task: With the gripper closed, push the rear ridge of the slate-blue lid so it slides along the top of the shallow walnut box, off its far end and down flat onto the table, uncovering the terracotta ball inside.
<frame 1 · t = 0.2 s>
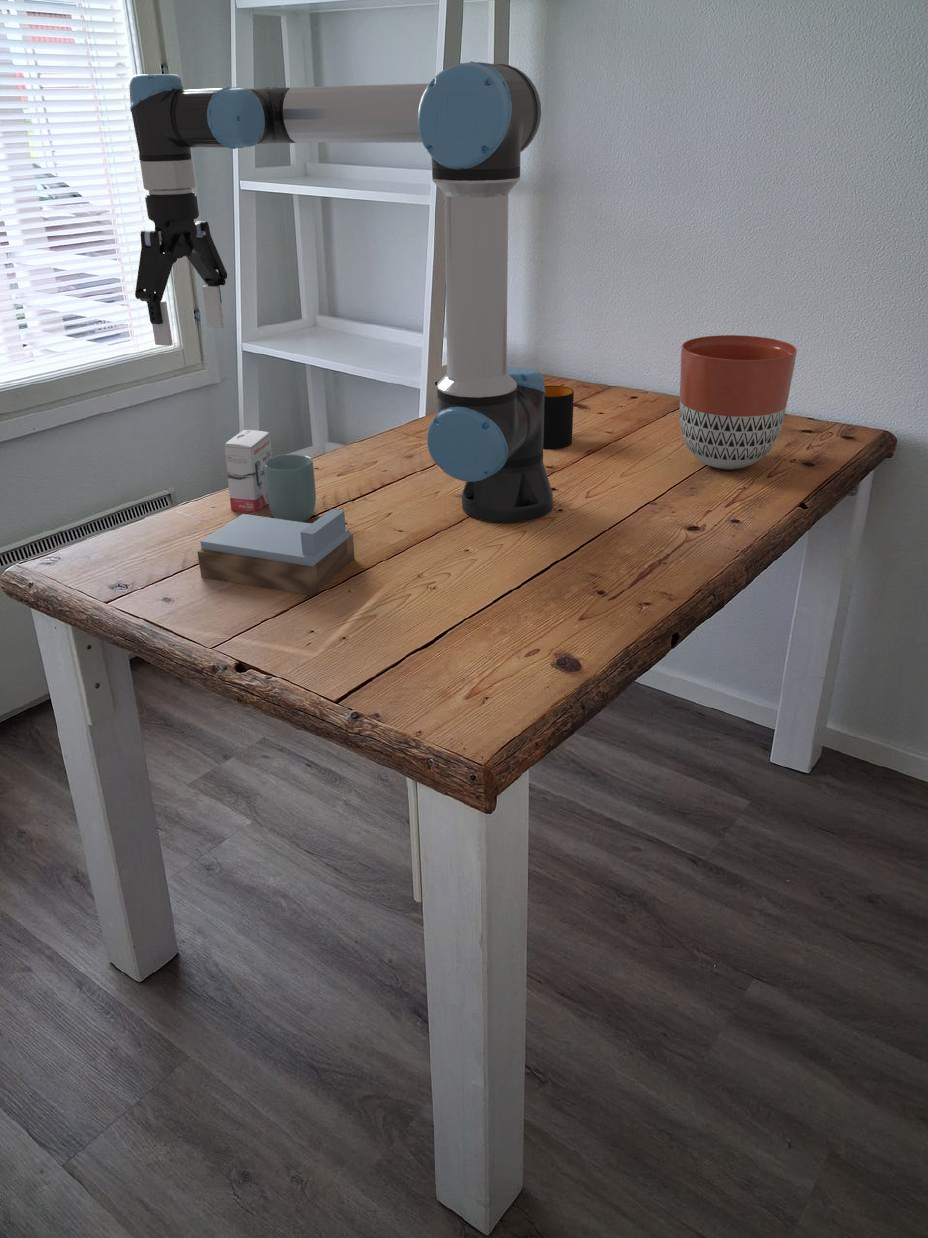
hand: (190, 335, 160), 28 cm above the table, fingers open, 13 cm apart
ink box: (254, 505, 171), on the table
lid: (276, 542, 144), point 4 cm above the table, touching box
box: (279, 570, 146), on the table
ball: (261, 564, 147), resting on box
planter: (725, 465, 184), on the table
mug: (554, 441, 199), on the table
cup: (294, 521, 164), on the table
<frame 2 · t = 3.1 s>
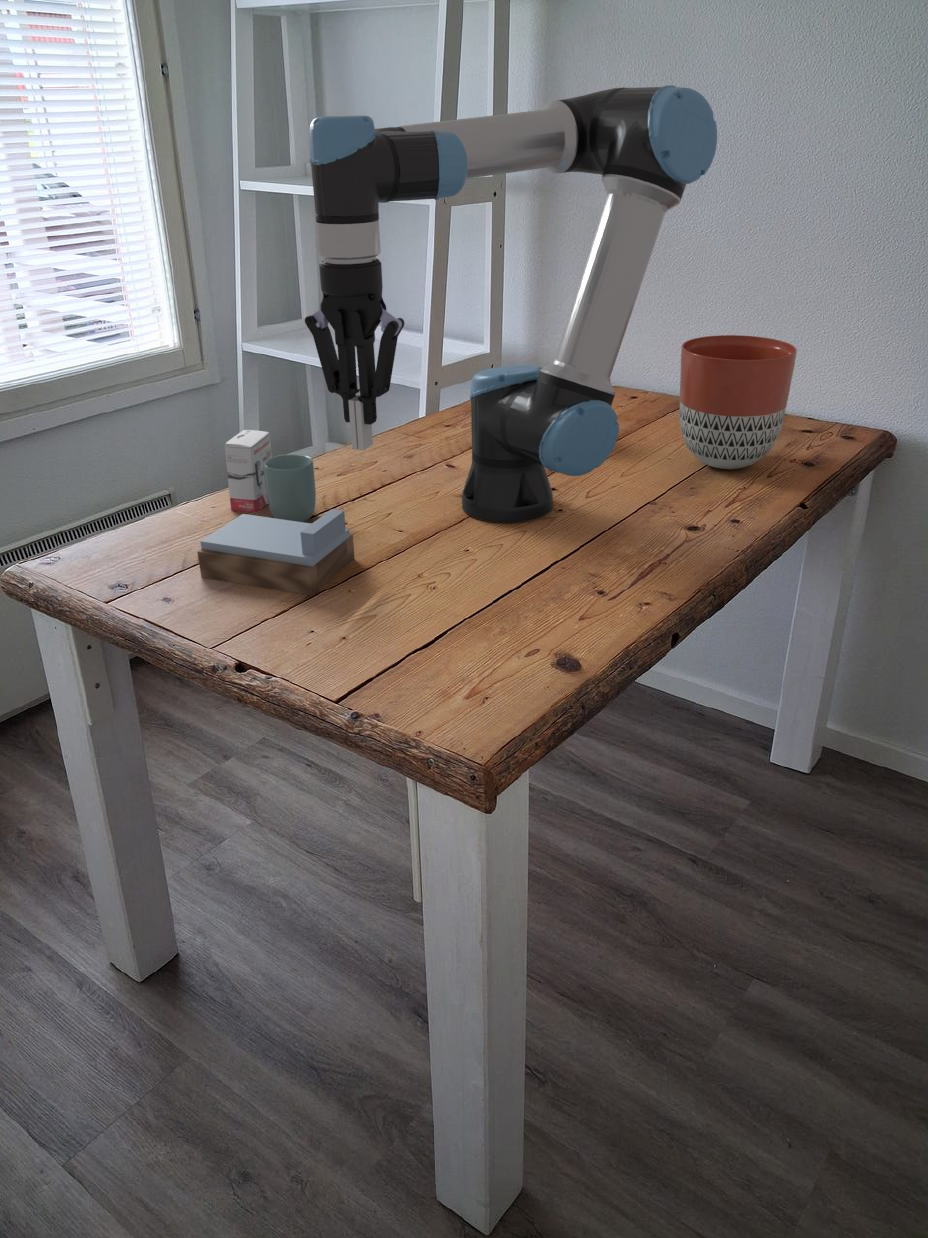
hand: (362, 446, 132), 20 cm above the table, fingers closed
nothing on the table moved.
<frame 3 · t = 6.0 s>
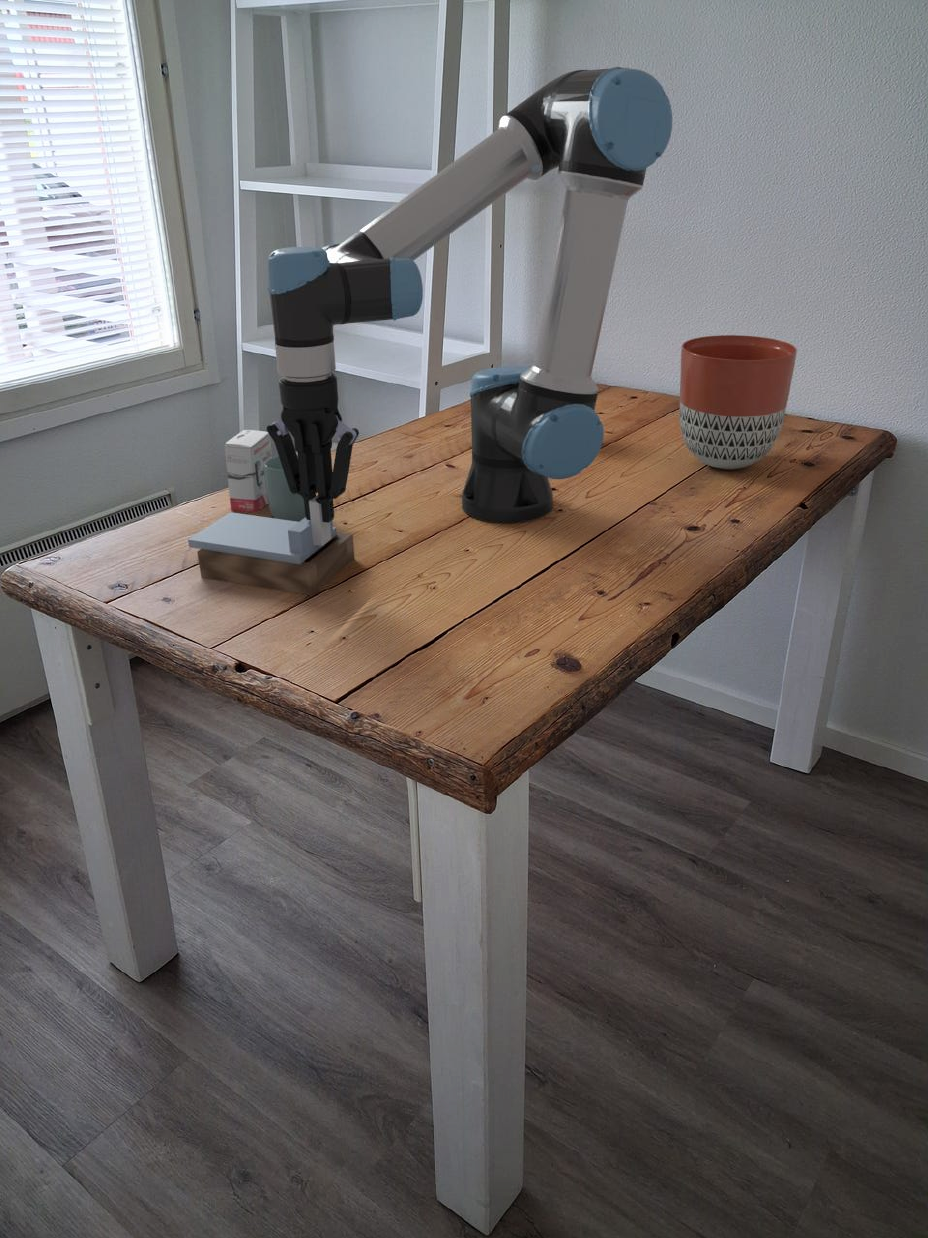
hand: (322, 541, 141), 6 cm above the table, fingers closed
lid: (263, 540, 145), point 5 cm above the table, touching gripper
everything else where it was.
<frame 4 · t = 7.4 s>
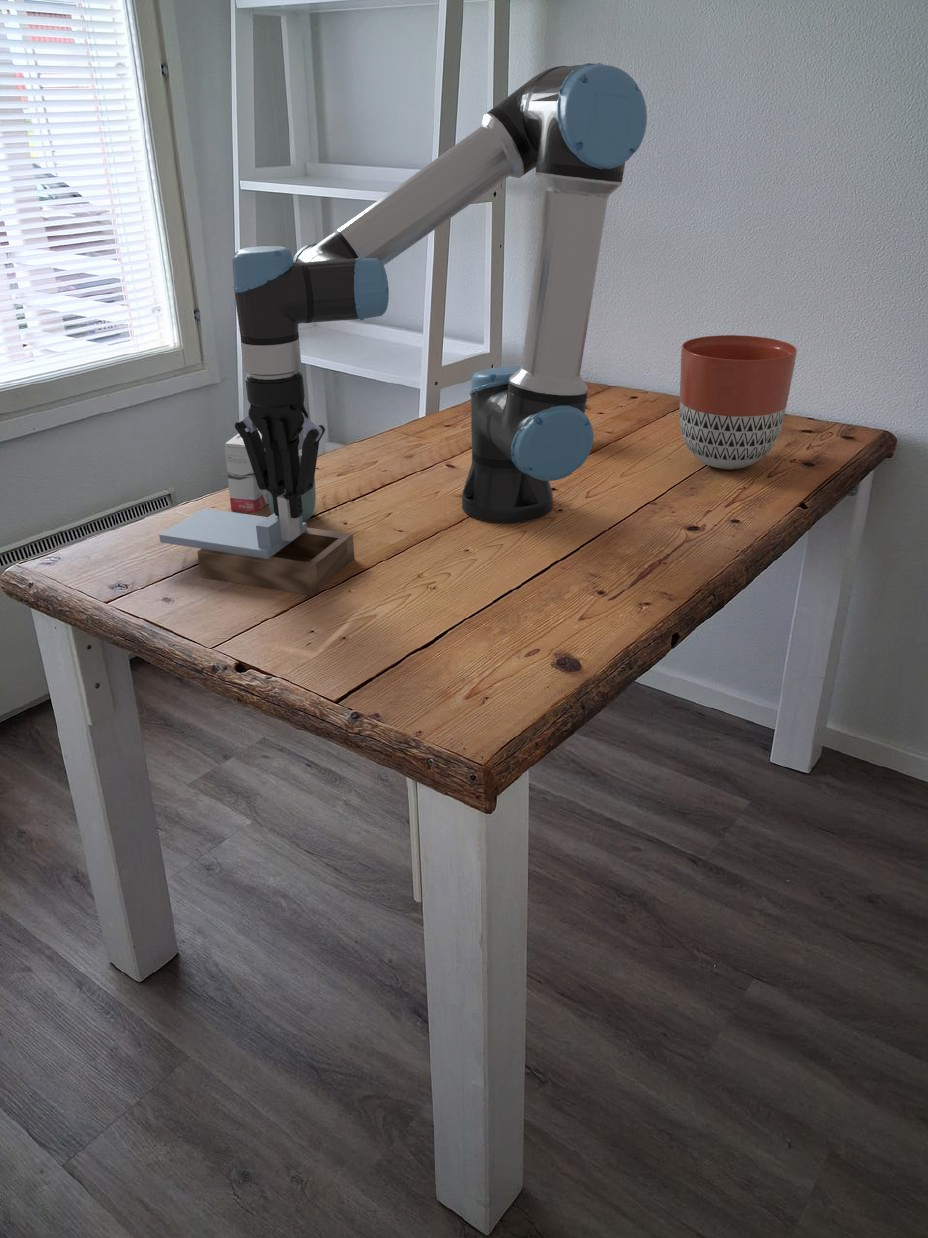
hand: (291, 537, 143), 6 cm above the table, fingers closed
lid: (234, 536, 147), point 5 cm above the table, touching gripper
everything else where it was.
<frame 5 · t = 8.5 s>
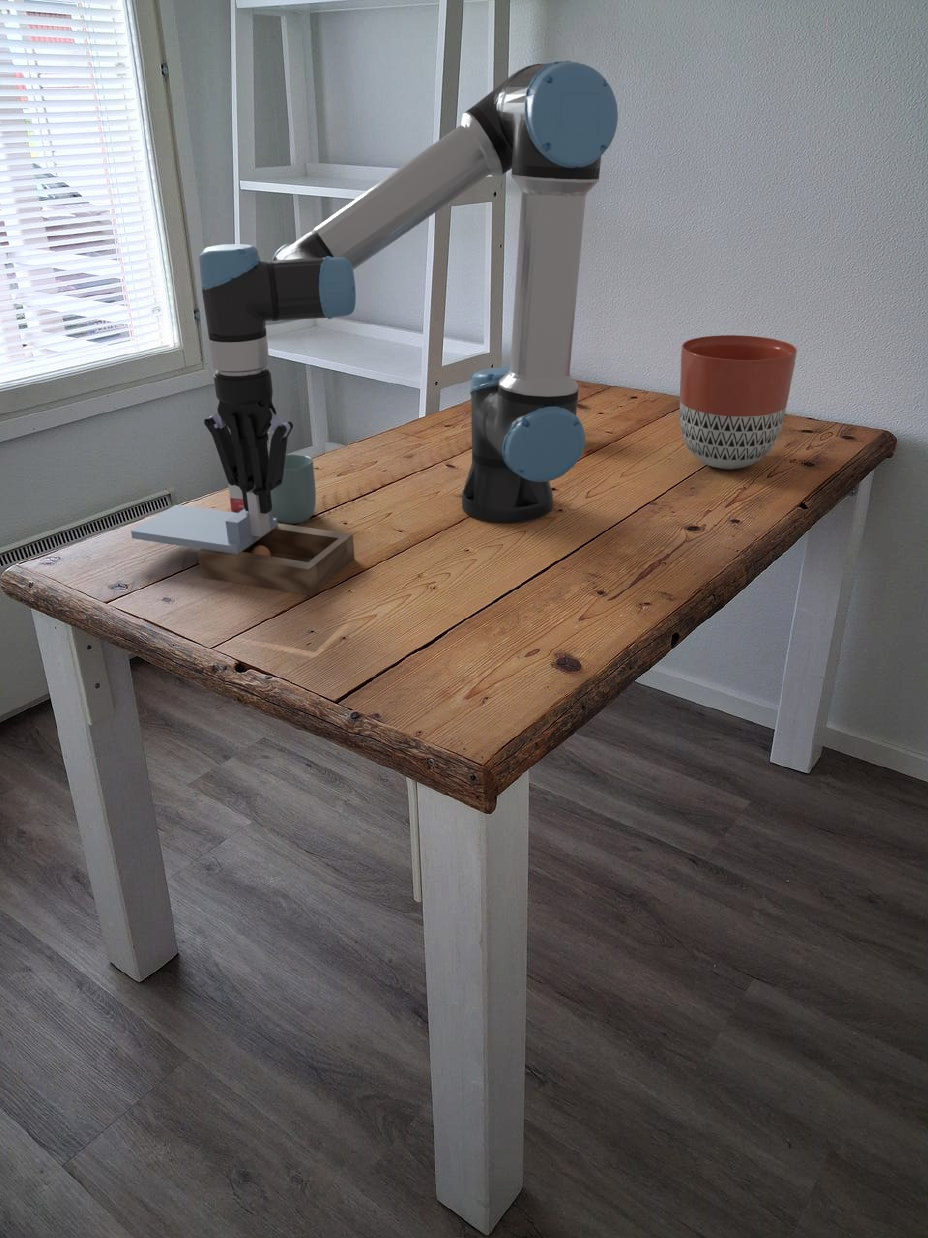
hand: (261, 532, 144), 6 cm above the table, fingers closed
lid: (205, 532, 148), point 4 cm above the table, touching box
everything else where it was.
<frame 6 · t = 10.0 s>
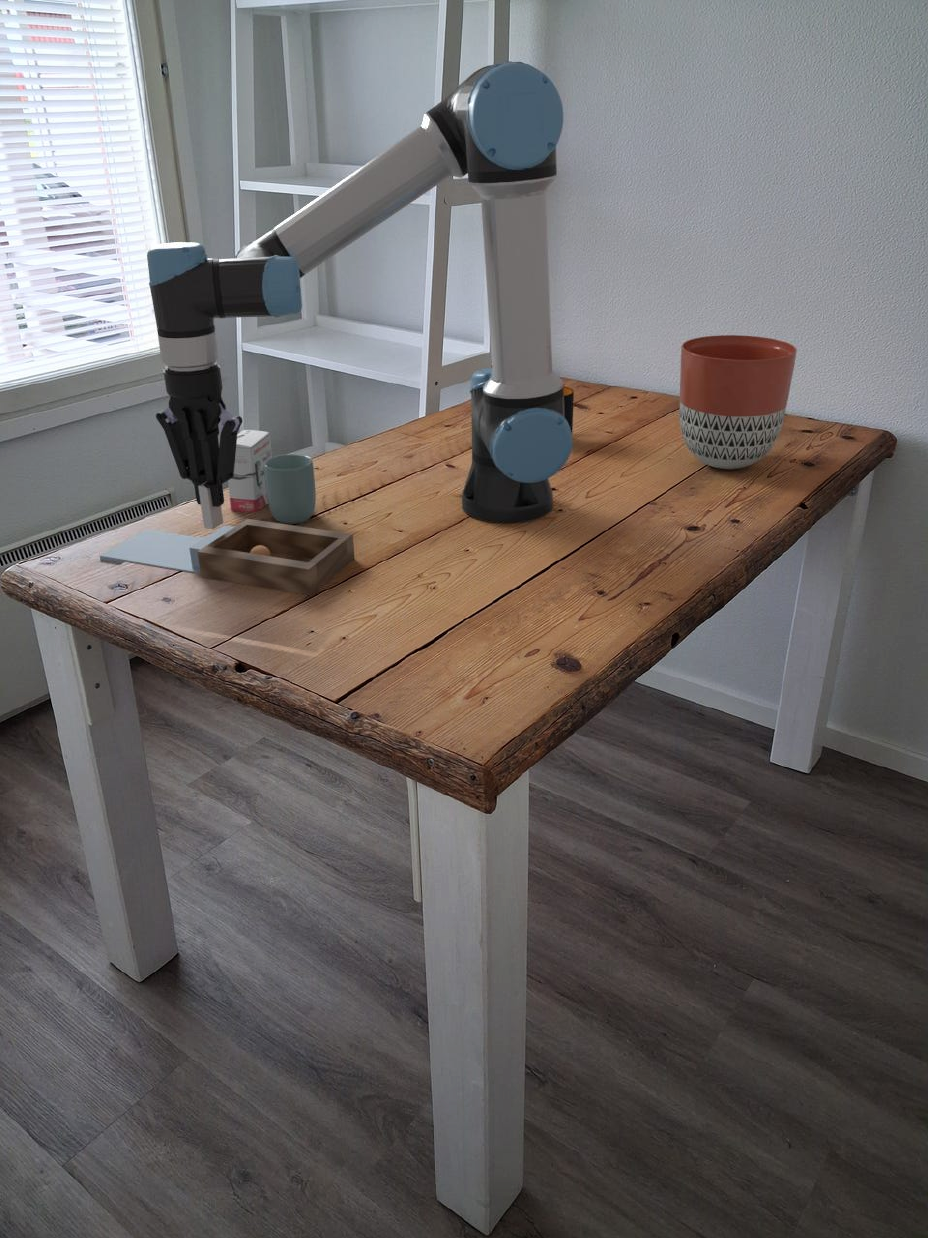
hand: (213, 525, 147), 6 cm above the table, fingers closed
lid: (172, 556, 153), on the table
everything else where it was.
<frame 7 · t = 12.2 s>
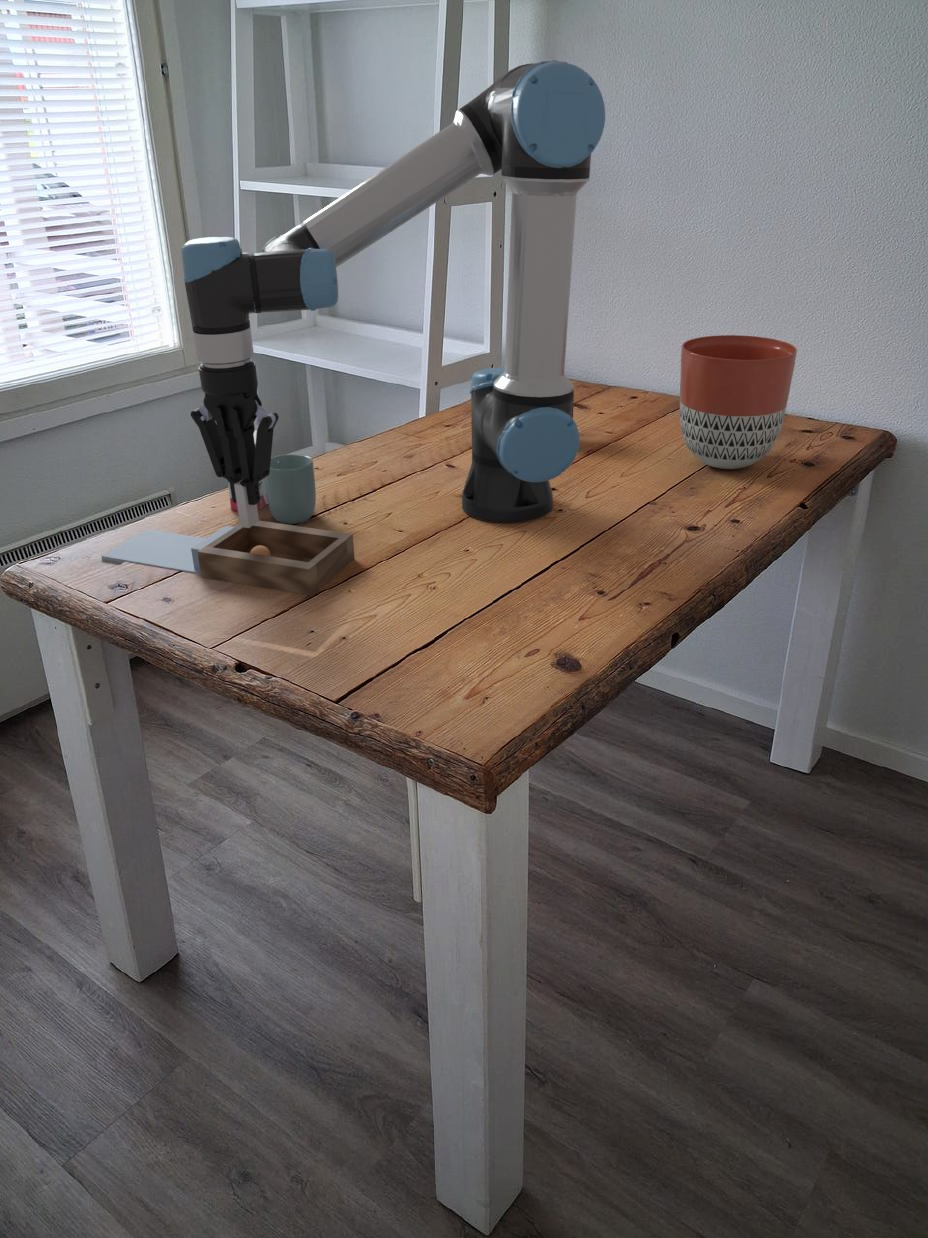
hand: (249, 523, 145), 7 cm above the table, fingers closed
nothing on the table moved.
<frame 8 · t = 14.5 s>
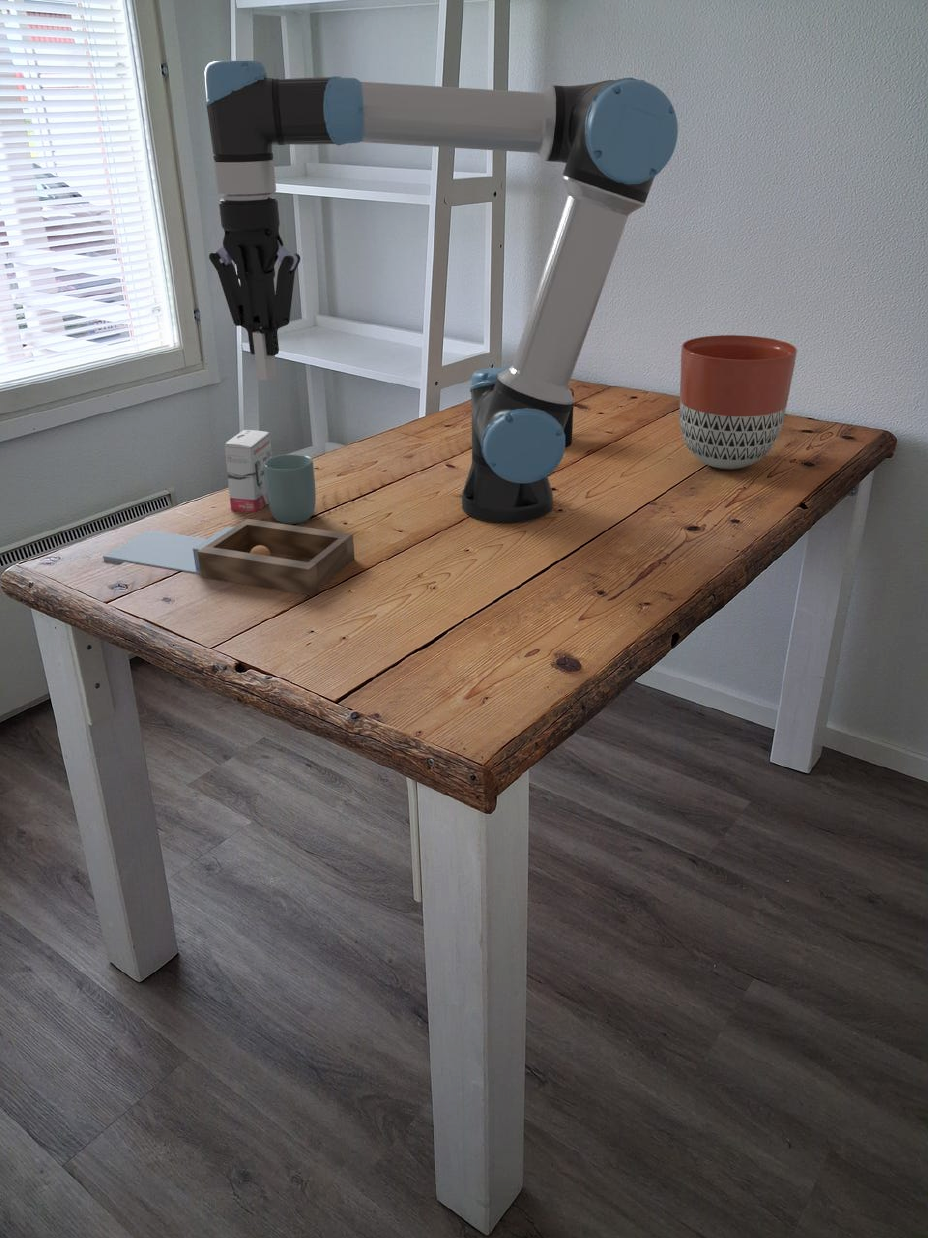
hand: (267, 377, 141), 26 cm above the table, fingers closed
nothing on the table moved.
at the end: lid inside the target area on the table beside the box (5.8 cm from its centre), on the table; lid tilted 0°; lid moved 18.9 cm from its start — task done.
